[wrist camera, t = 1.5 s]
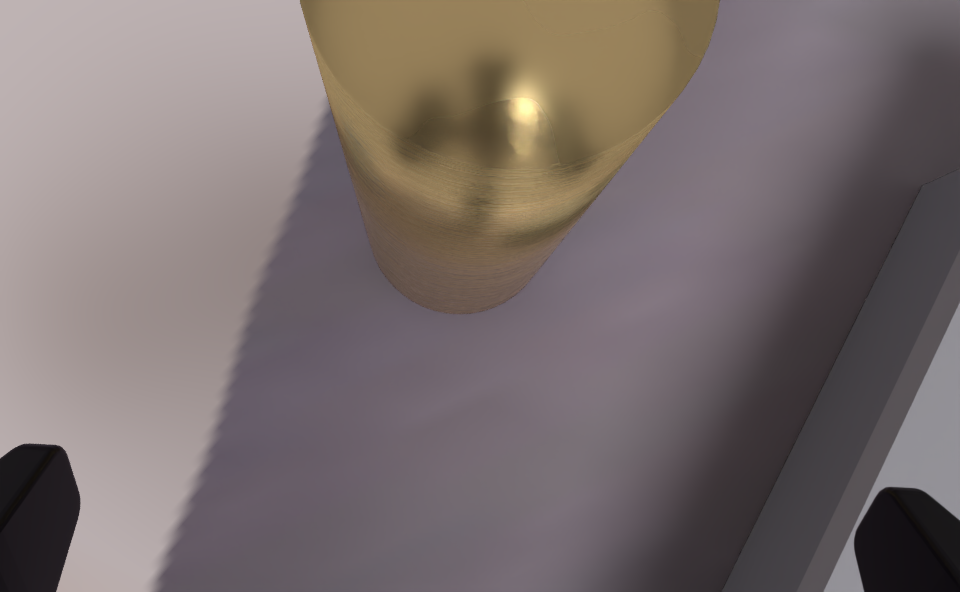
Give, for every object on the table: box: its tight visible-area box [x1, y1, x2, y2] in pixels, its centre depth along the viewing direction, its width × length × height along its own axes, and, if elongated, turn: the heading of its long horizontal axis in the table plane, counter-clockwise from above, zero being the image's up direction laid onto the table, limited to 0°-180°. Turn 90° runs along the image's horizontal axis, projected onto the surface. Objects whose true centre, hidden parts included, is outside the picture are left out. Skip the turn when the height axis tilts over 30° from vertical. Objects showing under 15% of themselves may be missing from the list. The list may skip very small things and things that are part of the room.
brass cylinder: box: [300, 0, 720, 314], centre depth 16 cm, size 5×5×13 cm
